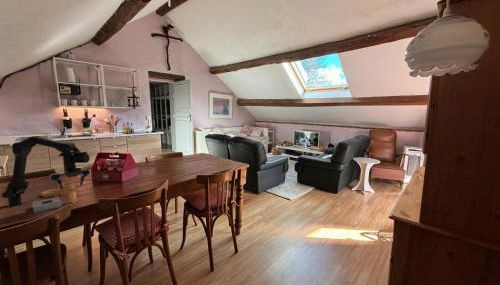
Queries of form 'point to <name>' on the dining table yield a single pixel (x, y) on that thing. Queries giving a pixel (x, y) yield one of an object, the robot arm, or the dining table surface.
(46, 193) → the wooden mallet
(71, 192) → the wedge pin
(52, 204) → the grey slotted block
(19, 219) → the dining table surface
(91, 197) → the dining table surface
